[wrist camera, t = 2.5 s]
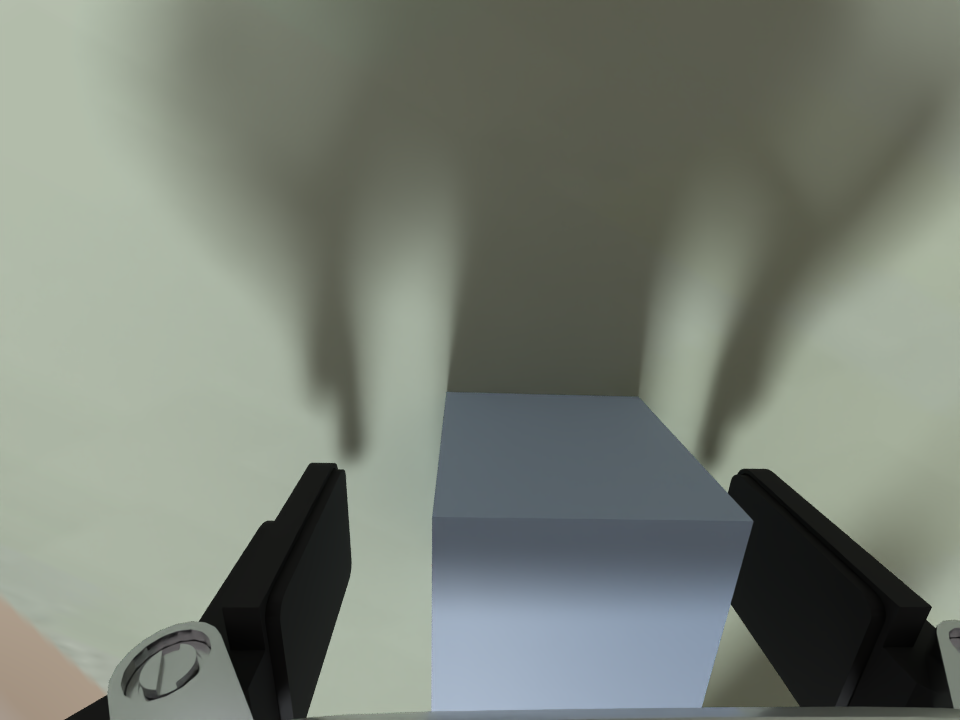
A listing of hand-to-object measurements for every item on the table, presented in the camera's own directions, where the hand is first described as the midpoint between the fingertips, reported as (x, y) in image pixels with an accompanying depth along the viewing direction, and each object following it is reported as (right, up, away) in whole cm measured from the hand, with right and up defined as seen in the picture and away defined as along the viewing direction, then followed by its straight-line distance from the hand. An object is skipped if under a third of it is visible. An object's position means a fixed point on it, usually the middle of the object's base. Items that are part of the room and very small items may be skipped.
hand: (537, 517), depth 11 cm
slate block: (0, +1, +2) cm, 2 cm away
